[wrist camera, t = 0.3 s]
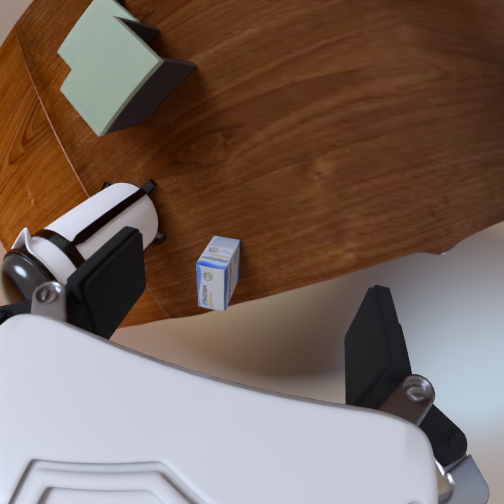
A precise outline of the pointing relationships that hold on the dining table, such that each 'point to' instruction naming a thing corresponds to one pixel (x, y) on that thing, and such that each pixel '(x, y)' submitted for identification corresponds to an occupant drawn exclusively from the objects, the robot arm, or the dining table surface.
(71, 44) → the rack
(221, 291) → the medicine box
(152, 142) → the dining table surface
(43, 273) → the coffee press
